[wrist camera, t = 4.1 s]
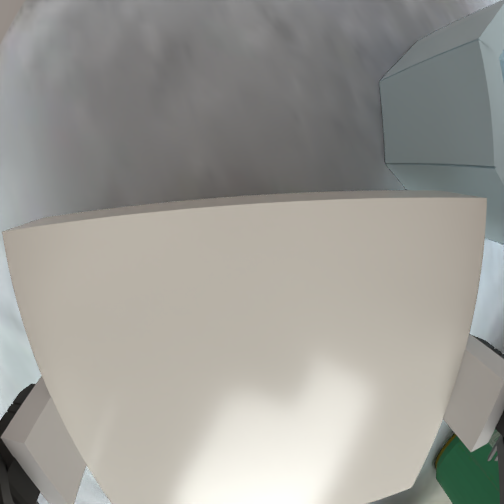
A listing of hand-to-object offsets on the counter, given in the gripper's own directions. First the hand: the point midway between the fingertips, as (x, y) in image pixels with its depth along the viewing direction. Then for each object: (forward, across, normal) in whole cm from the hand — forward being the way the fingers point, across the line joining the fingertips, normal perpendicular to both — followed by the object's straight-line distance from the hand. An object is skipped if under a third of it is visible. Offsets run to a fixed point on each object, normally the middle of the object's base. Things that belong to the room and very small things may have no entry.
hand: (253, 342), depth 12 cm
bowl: (+1, +10, +8) cm, 13 cm away
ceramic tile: (-3, 0, 0) cm, 3 cm away
